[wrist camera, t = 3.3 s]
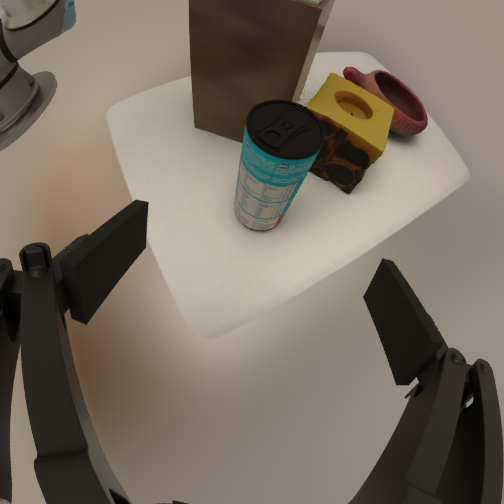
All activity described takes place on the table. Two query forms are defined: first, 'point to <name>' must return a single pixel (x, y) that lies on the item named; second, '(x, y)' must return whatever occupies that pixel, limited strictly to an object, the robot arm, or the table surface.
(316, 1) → the open box
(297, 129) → the beverage can
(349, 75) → the bowl
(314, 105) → the candle
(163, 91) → the table surface
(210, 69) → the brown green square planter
